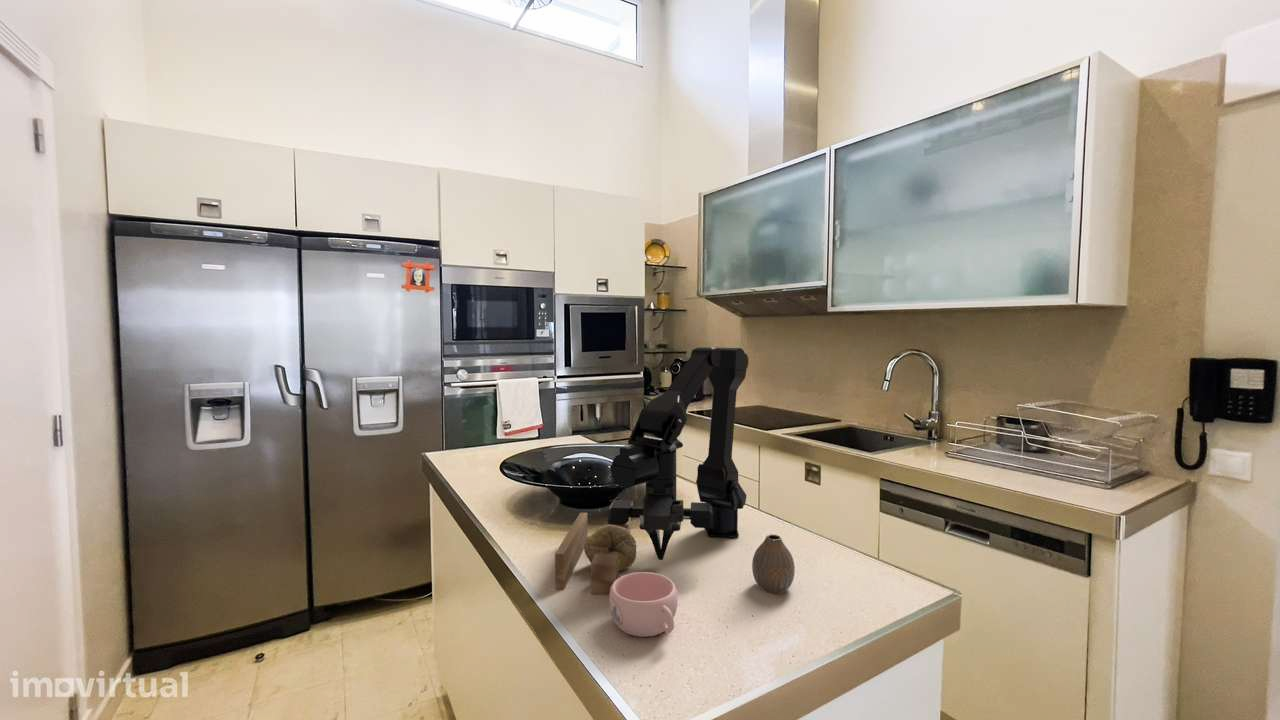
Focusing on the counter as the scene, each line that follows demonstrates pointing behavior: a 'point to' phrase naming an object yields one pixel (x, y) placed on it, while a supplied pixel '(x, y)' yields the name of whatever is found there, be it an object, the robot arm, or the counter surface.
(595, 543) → the fossil
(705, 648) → the counter surface
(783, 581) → the vase
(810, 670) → the counter surface
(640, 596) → the mug
